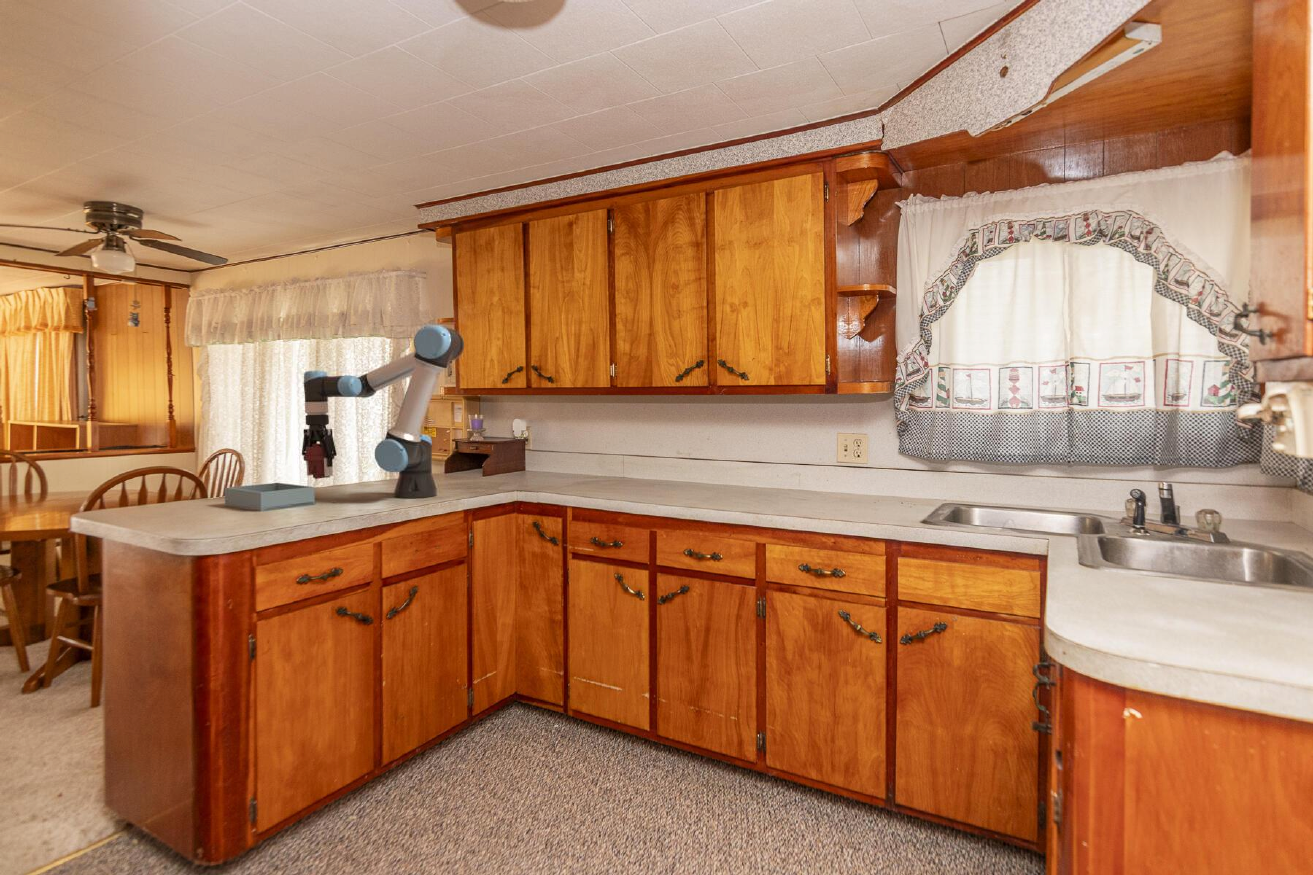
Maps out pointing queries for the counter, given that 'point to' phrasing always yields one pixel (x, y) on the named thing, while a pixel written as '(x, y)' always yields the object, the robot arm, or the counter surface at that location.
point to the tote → (269, 496)
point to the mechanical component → (315, 461)
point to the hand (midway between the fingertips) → (319, 475)
